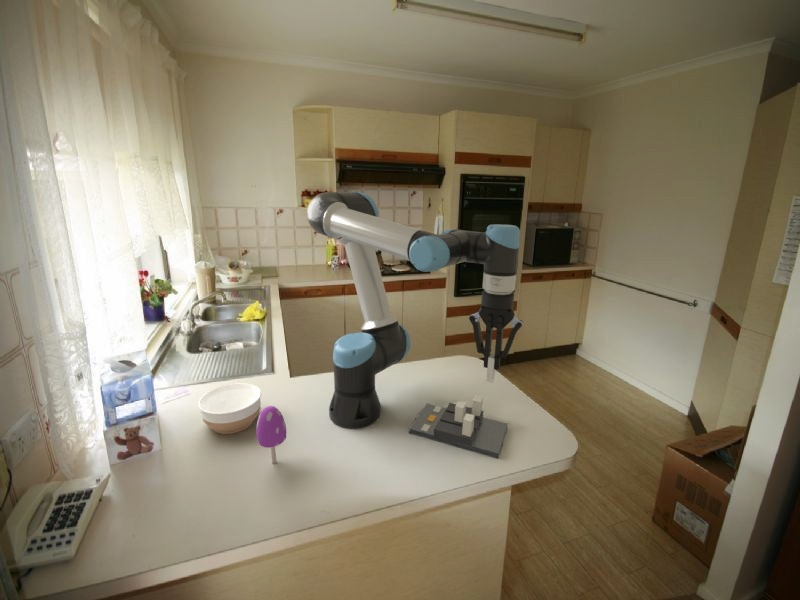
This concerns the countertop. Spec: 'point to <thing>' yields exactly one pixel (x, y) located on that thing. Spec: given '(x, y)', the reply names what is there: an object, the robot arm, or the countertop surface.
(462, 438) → the breaker housings
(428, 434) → the panel
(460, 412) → the handle
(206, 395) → the bowl
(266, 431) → the toy
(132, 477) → the countertop surface
